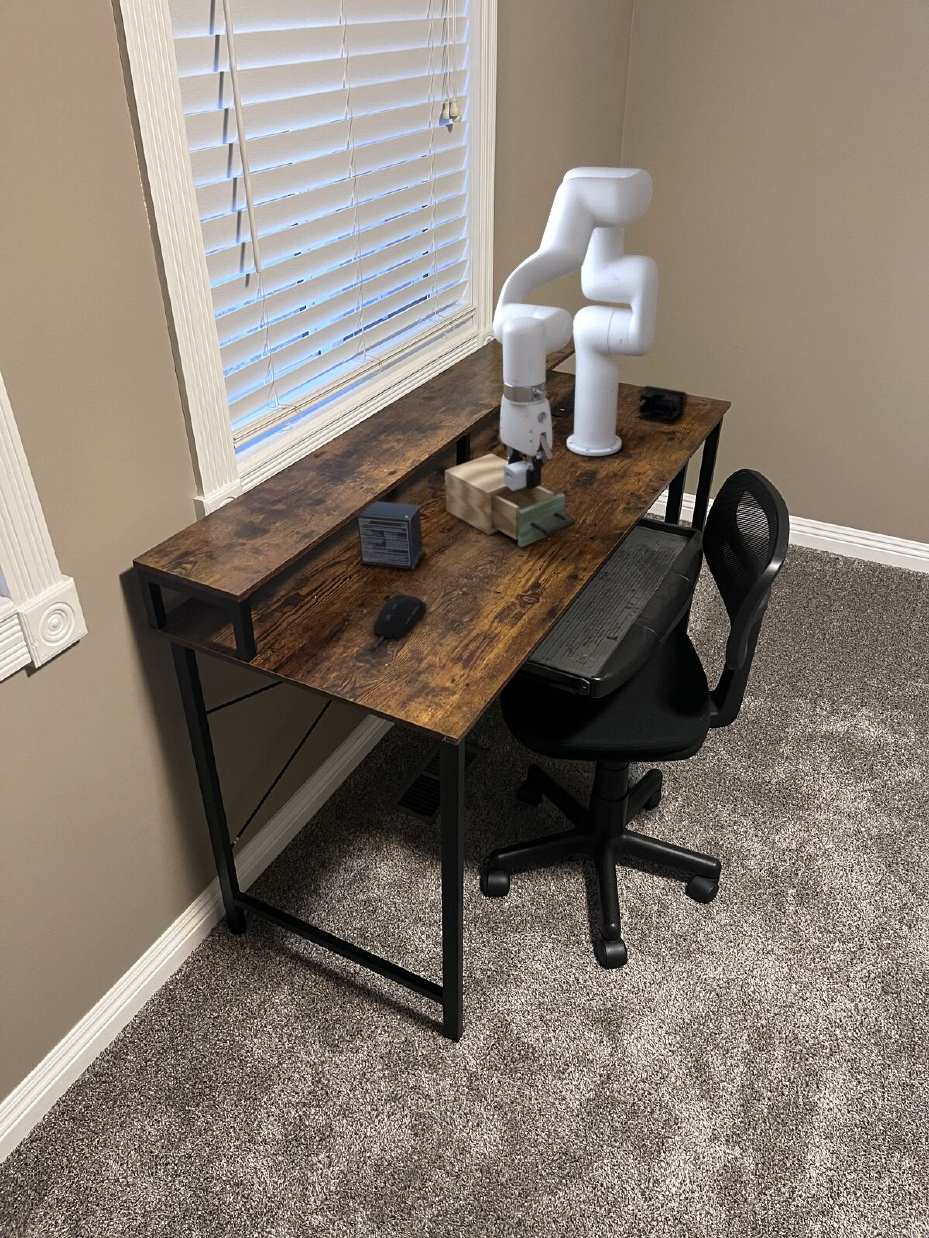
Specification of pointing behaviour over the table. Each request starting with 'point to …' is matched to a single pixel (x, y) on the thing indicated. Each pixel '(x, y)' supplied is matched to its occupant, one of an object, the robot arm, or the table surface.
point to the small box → (390, 535)
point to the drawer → (529, 513)
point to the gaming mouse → (398, 616)
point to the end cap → (662, 404)
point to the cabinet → (475, 490)
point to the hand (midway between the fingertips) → (524, 481)
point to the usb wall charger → (516, 475)
